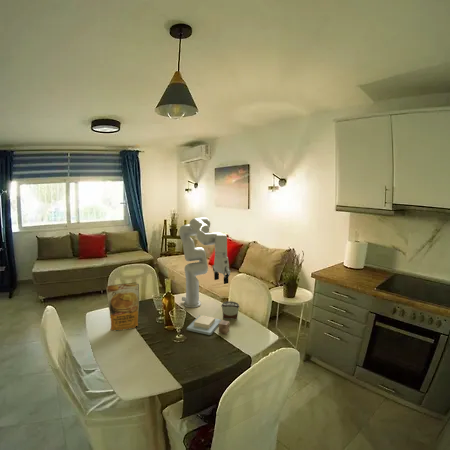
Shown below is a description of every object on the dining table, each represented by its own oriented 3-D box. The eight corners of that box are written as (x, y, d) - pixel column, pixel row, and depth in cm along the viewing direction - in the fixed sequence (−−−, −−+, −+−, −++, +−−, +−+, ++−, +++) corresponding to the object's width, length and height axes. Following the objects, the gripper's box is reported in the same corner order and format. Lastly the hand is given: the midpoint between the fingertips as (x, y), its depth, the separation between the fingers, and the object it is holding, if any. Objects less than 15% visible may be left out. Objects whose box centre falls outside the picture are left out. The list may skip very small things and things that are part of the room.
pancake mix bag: (108, 327, 179) (106, 284, 175) (140, 322, 186) (138, 281, 181) (107, 332, 173) (105, 288, 169) (140, 327, 179) (139, 284, 175)
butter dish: (186, 330, 177) (186, 323, 177) (199, 317, 194) (199, 311, 193) (210, 335, 172) (210, 328, 171) (221, 321, 188) (221, 316, 188)
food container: (239, 315, 198) (240, 301, 196) (239, 319, 192) (239, 305, 190) (221, 314, 199) (222, 300, 198) (220, 318, 193) (221, 304, 192)
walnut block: (218, 332, 174) (218, 323, 174) (221, 329, 179) (221, 320, 178) (226, 334, 173) (226, 325, 172) (229, 330, 177) (229, 321, 176)
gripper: (234, 255, 171) (234, 283, 173) (217, 251, 184) (218, 277, 186) (224, 257, 166) (224, 286, 168) (207, 252, 180) (208, 279, 182)
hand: (221, 281), depth 177 cm, fingers open, 9 cm apart
